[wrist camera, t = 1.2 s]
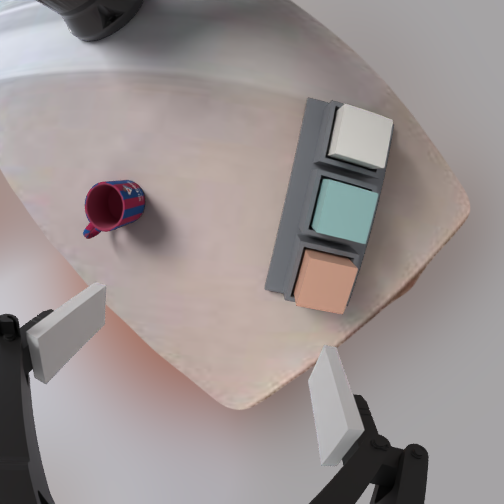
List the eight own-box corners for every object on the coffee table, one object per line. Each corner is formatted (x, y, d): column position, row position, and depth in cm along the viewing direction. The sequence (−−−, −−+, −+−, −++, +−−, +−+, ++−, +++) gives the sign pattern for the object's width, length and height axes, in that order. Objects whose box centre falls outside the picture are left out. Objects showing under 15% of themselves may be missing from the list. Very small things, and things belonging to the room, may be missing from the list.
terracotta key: (304, 247, 38) (309, 257, 33) (347, 256, 38) (358, 268, 33) (292, 289, 39) (296, 305, 34) (334, 297, 40) (342, 314, 34)
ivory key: (335, 112, 33) (345, 103, 28) (377, 126, 33) (393, 120, 28) (326, 156, 35) (335, 153, 30) (369, 169, 35) (384, 168, 30)
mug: (153, 205, 42) (134, 211, 35) (110, 243, 44) (88, 254, 37) (129, 171, 41) (107, 171, 34) (88, 211, 43) (64, 217, 36)
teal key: (320, 179, 36) (329, 179, 31) (364, 191, 36) (378, 193, 31) (310, 224, 37) (316, 232, 32) (353, 235, 37) (365, 244, 32)
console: (307, 99, 37) (313, 87, 31) (390, 125, 37) (408, 119, 31) (264, 286, 44) (264, 302, 38) (345, 302, 44) (355, 320, 38)
